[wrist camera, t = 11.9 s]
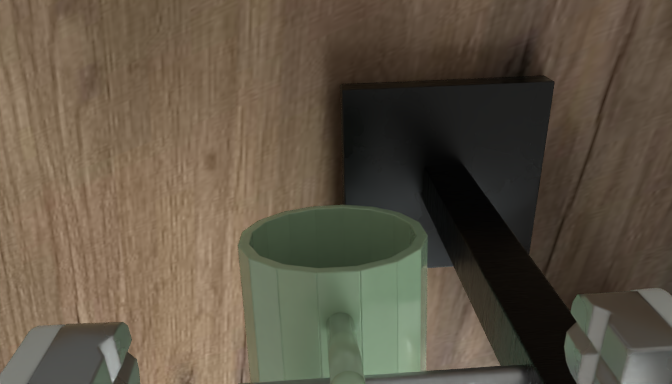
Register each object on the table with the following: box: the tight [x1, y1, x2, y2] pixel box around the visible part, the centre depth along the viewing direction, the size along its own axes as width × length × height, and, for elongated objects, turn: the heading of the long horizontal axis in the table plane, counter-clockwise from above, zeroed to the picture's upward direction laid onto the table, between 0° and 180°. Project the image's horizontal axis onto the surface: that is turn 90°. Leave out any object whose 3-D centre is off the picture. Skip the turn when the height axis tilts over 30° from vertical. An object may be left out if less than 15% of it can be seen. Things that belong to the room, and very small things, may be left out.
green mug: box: [238, 205, 428, 384], centre depth 19 cm, size 10×7×9 cm
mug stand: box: [240, 76, 577, 384], centre depth 21 cm, size 10×14×16 cm
